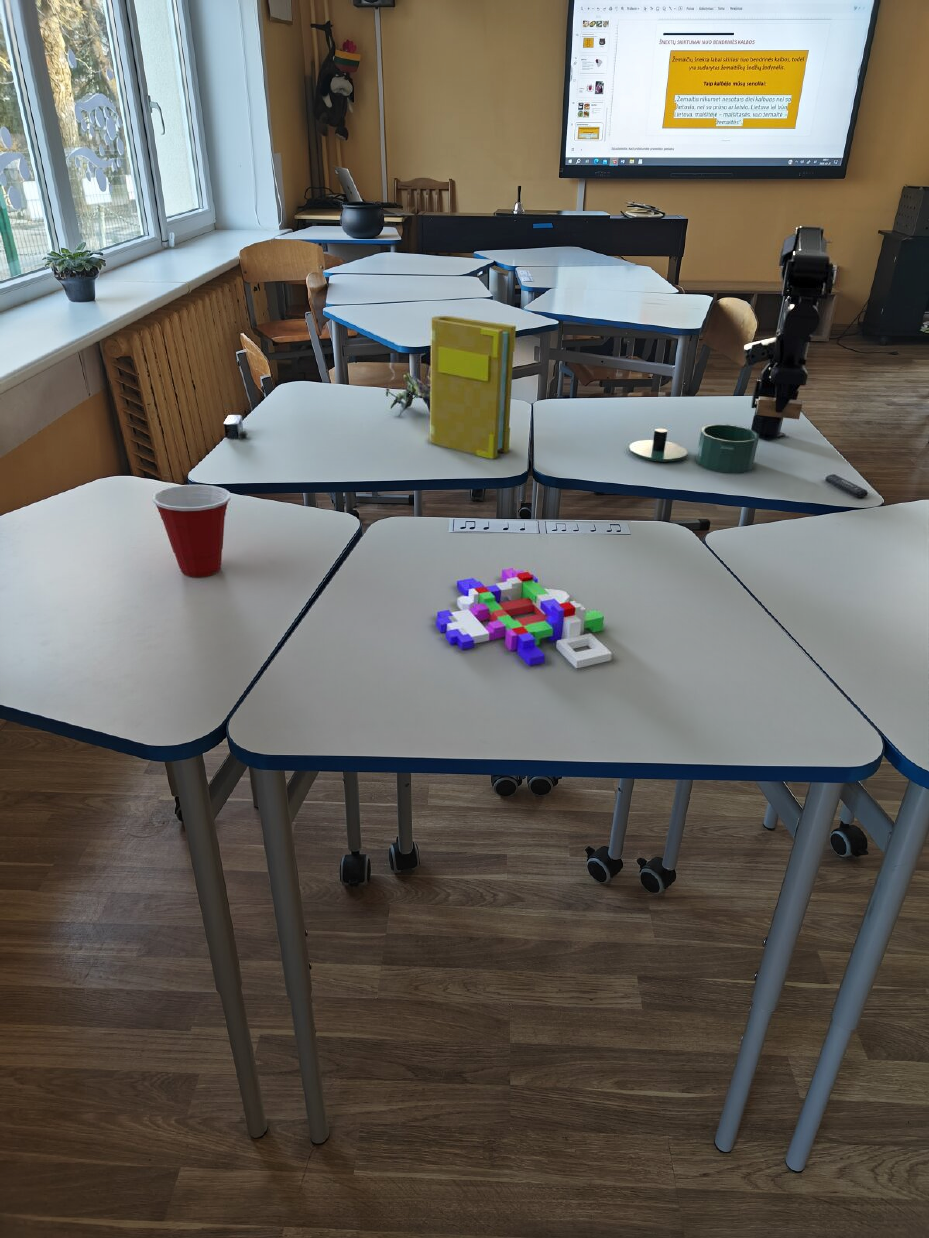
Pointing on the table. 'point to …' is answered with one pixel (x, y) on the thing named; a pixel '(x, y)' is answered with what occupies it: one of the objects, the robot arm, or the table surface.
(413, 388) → the green spindly figure
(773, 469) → the table surface
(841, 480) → the usb stick
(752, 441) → the pot
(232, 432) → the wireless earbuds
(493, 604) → the building block set
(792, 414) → the wooden block
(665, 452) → the lid
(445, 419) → the book
